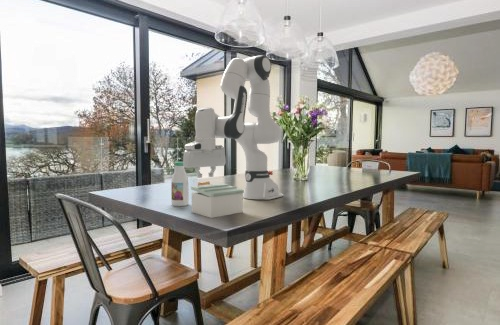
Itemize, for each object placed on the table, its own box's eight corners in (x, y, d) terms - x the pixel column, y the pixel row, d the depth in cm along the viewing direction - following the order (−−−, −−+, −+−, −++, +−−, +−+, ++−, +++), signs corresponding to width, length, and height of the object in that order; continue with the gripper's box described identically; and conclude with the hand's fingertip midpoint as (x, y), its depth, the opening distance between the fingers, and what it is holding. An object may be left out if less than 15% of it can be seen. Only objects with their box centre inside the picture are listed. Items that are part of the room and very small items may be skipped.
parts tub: (222, 207, 147) (222, 189, 147) (242, 212, 137) (242, 193, 136) (191, 212, 137) (191, 193, 136) (211, 217, 126) (211, 197, 126)
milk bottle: (181, 202, 157) (181, 161, 156) (192, 204, 152) (191, 161, 151) (168, 205, 151) (167, 161, 150) (178, 207, 146) (178, 162, 145)
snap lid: (217, 184, 150) (217, 180, 149) (244, 193, 136) (244, 188, 136) (186, 187, 139) (186, 182, 138) (212, 197, 125) (212, 192, 125)
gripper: (220, 145, 151) (220, 175, 152) (180, 145, 137) (181, 178, 138) (228, 145, 146) (228, 176, 147) (188, 145, 132) (189, 179, 133)
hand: (205, 177), depth 142 cm, fingers open, 4 cm apart
